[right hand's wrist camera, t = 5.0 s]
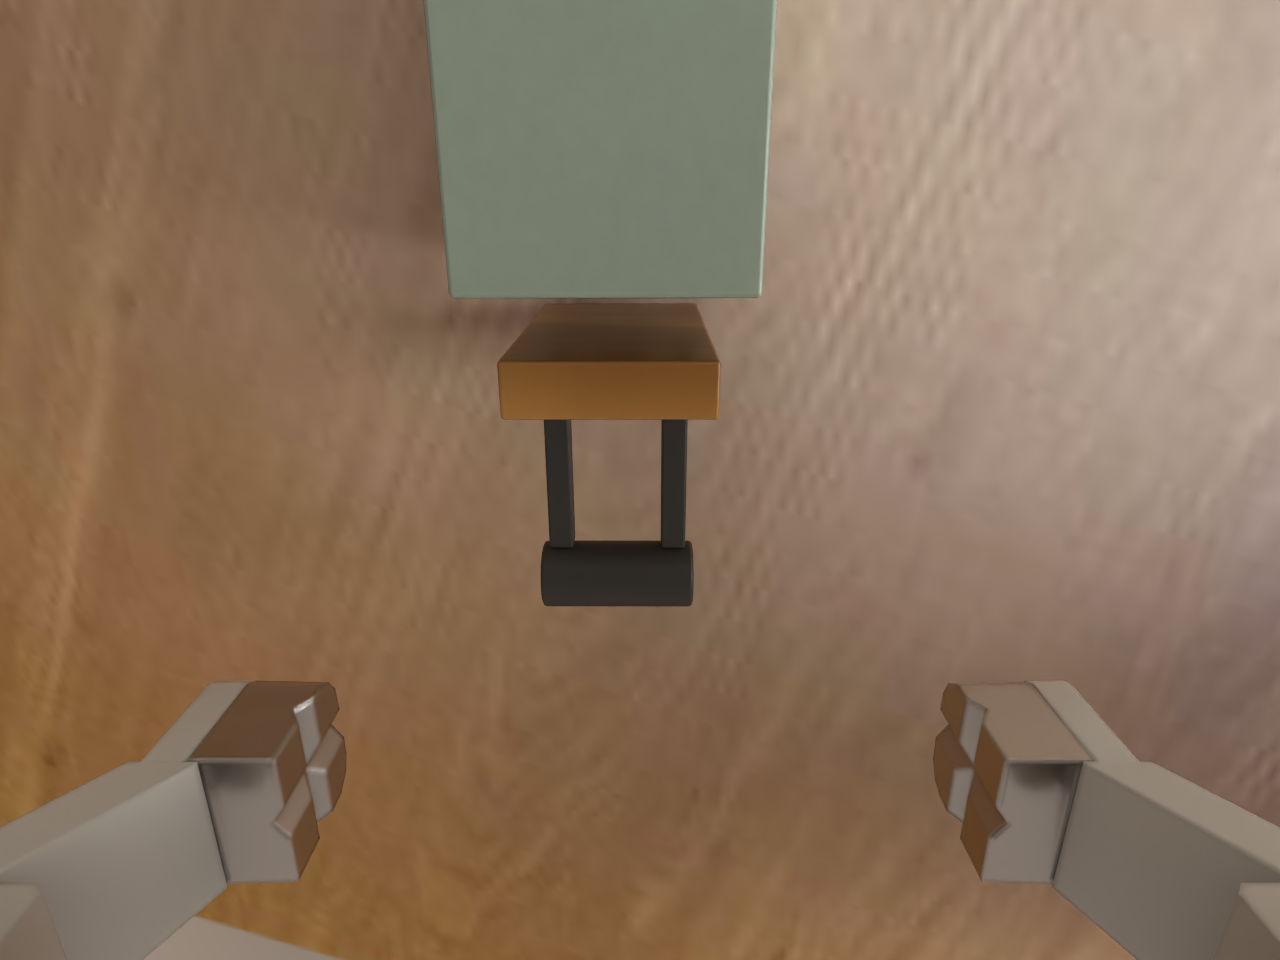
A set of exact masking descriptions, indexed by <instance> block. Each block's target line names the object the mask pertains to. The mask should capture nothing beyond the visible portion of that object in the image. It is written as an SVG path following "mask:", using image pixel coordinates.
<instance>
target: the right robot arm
mask: <svg viewBox="0 0 1280 960" xmlns="http://www.w3.org/2000/svg"><path fill="white" fill-rule="evenodd" d="M338 711H339V704H338V699H337V694H336V690H335V688H334V687H333V686H332V685H331V684H330V683H329V682H291V681H254V682H253V681H216V682H213V683H210V684H208V685H207V686H206V687H205V689H204V690H203V691H202V692H201V693H200V694H199V695H198V697H197V698H196V699H195V700H194V701H193V702H192V703H191V705H190V706H189V707H188V708H187V709H186V710H185V711H184V713H183V714H182V715H181V716H180V717H179V718H178V719H177V721H176V722H175V723H174V724H173V725H172V726H171V727H170V729H169V730H168V731H167V732H166V733H165V734H164V735H163V737H162V738H161V739H160V740H159V741H158V742H157V743H156V745H155V746H154V747H153V748H152V749H151V750H150V751H149V753H148V754H147V755H146V756H145V757H144V758H143V760H142V761H141V762H127V763H125V764H123V765H121V766H119V767H117V768H115V769H113V770H111V771H109V772H107V773H105V774H103V775H101V776H99V777H97V778H95V779H94V780H92V781H90V782H88V783H86V784H84V785H82V786H80V787H78V788H76V789H74V790H72V791H70V792H68V793H66V794H64V795H62V796H60V797H58V798H56V799H54V800H53V801H51V802H49V803H47V804H45V805H43V806H41V807H39V808H37V809H35V810H33V811H31V812H29V813H27V814H25V815H23V816H21V817H19V818H17V819H15V820H13V821H12V822H10V823H8V824H6V825H4V826H2V827H0V960H143V959H144V958H145V957H146V956H148V955H149V954H150V953H151V952H152V951H153V950H155V949H156V948H157V947H158V946H159V945H161V944H162V943H163V942H164V941H165V940H166V939H168V938H169V937H170V936H171V935H172V934H173V933H175V932H176V931H177V930H178V929H179V928H181V927H182V926H183V925H184V924H185V923H186V922H188V921H189V920H190V919H191V918H192V917H193V916H195V915H196V914H197V913H198V912H199V911H200V910H202V909H203V908H204V907H205V906H206V905H208V904H209V903H210V902H211V901H212V900H213V899H215V898H216V897H217V896H218V895H219V894H220V893H222V892H223V891H224V890H225V889H226V888H227V887H228V885H227V883H261V882H295V881H299V879H300V877H301V875H302V873H303V871H304V869H305V867H306V865H307V863H308V861H309V859H310V857H311V855H312V853H313V851H314V849H315V847H316V845H317V843H318V841H319V839H320V837H319V831H318V825H317V822H318V821H320V820H321V819H323V818H324V817H325V816H327V815H328V814H330V813H331V812H332V811H333V810H334V808H335V806H336V804H337V801H338V799H339V797H340V795H341V792H342V788H343V783H344V778H345V774H346V747H345V740H344V737H343V736H342V735H341V734H340V733H339V732H338V731H337V730H336V729H335V728H334V727H333V726H332V725H331V724H332V722H333V720H334V718H335V717H336V715H337V713H338ZM941 711H942V713H943V715H944V717H945V718H946V720H947V722H948V724H949V725H948V726H947V727H946V728H945V729H944V730H943V731H942V732H941V733H940V734H939V735H938V736H937V737H936V740H935V748H934V757H933V761H934V772H935V781H936V784H937V788H938V791H939V795H940V797H941V799H942V802H943V804H944V806H945V808H946V810H947V811H948V812H949V813H950V814H952V815H953V816H955V817H956V818H957V819H959V820H960V821H962V822H963V825H962V831H961V837H960V839H961V841H962V843H963V845H964V847H965V849H966V851H967V853H968V855H969V857H970V859H971V861H972V863H973V865H974V867H975V869H976V871H977V873H978V875H979V877H980V879H981V881H982V882H1018V883H1053V885H1052V887H1053V888H1054V889H1055V890H1056V891H1058V892H1059V893H1060V894H1061V895H1062V896H1063V897H1065V898H1066V899H1067V900H1068V901H1069V902H1070V903H1072V904H1073V905H1074V906H1075V907H1076V908H1078V909H1079V910H1080V911H1081V912H1082V913H1083V914H1085V915H1086V916H1087V917H1088V918H1089V919H1090V920H1092V921H1093V922H1094V923H1095V924H1096V925H1097V926H1099V927H1100V928H1101V929H1102V930H1103V931H1104V932H1106V933H1107V934H1108V935H1109V936H1110V937H1111V938H1113V939H1114V940H1115V941H1116V942H1117V943H1119V944H1120V945H1121V946H1122V947H1123V948H1124V949H1126V950H1127V951H1128V952H1129V953H1130V954H1131V955H1133V956H1134V957H1135V958H1136V959H1137V960H1280V827H1278V826H1276V825H1274V824H1272V823H1270V822H1268V821H1266V820H1264V819H1262V818H1260V817H1258V816H1256V815H1255V814H1253V813H1251V812H1249V811H1247V810H1245V809H1243V808H1241V807H1239V806H1237V805H1235V804H1233V803H1231V802H1229V801H1227V800H1225V799H1223V798H1221V797H1219V796H1218V795H1216V794H1214V793H1212V792H1210V791H1208V790H1206V789H1204V788H1202V787H1200V786H1198V785H1196V784H1194V783H1192V782H1190V781H1188V780H1186V779H1184V778H1182V777H1181V776H1179V775H1177V774H1175V773H1173V772H1171V771H1169V770H1167V769H1165V768H1163V767H1161V766H1159V765H1157V764H1155V763H1153V762H1139V761H1138V760H1137V758H1136V757H1135V756H1134V755H1133V754H1132V753H1131V752H1130V750H1129V749H1128V748H1127V747H1126V746H1125V745H1124V744H1123V742H1122V741H1121V740H1120V739H1119V738H1118V737H1117V736H1116V734H1115V733H1114V732H1113V731H1112V730H1111V729H1110V728H1109V726H1108V725H1107V724H1106V723H1105V722H1104V721H1103V719H1102V718H1101V717H1100V716H1099V715H1098V714H1097V713H1096V711H1095V710H1094V709H1093V708H1092V707H1091V706H1090V705H1089V703H1088V702H1087V701H1086V700H1085V699H1084V698H1083V697H1082V695H1081V694H1080V693H1079V692H1078V691H1077V690H1076V689H1075V687H1074V686H1073V685H1071V684H1070V683H1068V682H1065V681H1063V680H1050V681H1025V682H1006V683H948V685H947V687H946V689H945V691H944V693H943V698H942V703H941Z"/></svg>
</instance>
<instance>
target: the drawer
mask: <svg viewBox="0 0 1280 960" xmlns="http://www.w3.org/2000/svg"><path fill="white" fill-rule="evenodd" d="M497 368H498V383H499V398H500V412H501V417H502V419H504V420H544V433H545V454H546V475H547V496H548V516H549V537H550V541H546V542H545V544H544V547H543V551H542V559H541V593H542V600H543V603H544V605H546V606H690V605H691V604H692V601H693V549H692V544H691V542H690V541H685V518H686V466H687V420H715V419H718V417H719V406H720V376H721V363H720V360H719V358H718V356H717V353H716V351H715V348H714V346H713V344H712V341H711V339H710V337H709V334H708V332H707V329H706V327H705V325H704V322H703V320H702V317H701V315H700V313H699V310H698V308H697V305H696V304H546V305H545V306H544V308H543V309H542V310H541V311H540V312H539V314H538V315H537V316H536V317H535V318H534V320H533V321H532V322H531V323H530V324H529V325H528V327H527V328H526V329H525V330H524V331H523V333H522V334H521V335H520V336H519V337H518V339H517V340H516V341H515V342H514V343H513V344H512V346H511V347H510V348H509V349H508V350H507V352H506V353H505V354H504V355H503V356H502V358H501V359H500V360H499V361H498V364H497ZM571 420H662V435H661V541H575V518H574V489H573V461H572V432H571Z"/></svg>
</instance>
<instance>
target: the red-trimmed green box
mask: <svg viewBox="0 0 1280 960" xmlns="http://www.w3.org/2000/svg"><path fill="white" fill-rule="evenodd" d="M423 1H424V13H425V24H426V36H427V47H428V58H429V70H430V81H431V93H432V104H433V116H434V127H435V139H436V150H437V162H438V173H439V185H440V196H441V208H442V219H443V231H444V242H445V254H446V265H447V277H448V288H449V294H450V296H451V297H452V298H455V299H476V298H758V297H760V296H761V294H762V285H763V266H764V246H765V227H766V207H767V188H768V168H769V149H770V129H771V109H772V90H773V70H774V51H775V31H776V12H777V0H423Z"/></svg>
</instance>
